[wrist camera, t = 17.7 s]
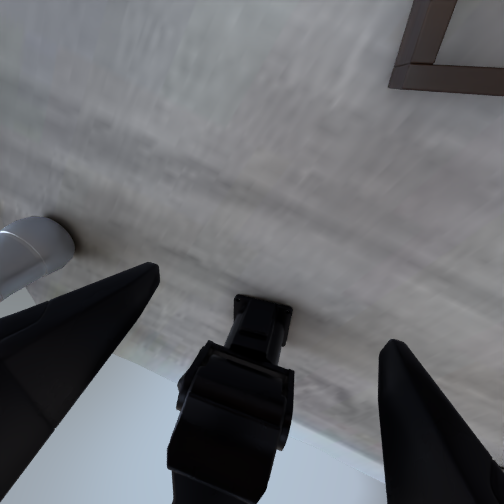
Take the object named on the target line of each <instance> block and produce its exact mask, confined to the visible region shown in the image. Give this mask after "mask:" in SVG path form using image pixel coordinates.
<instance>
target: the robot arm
mask: <svg viewBox="0 0 504 504" xmlns="http://www.w3.org/2000/svg"><path fill="white" fill-rule="evenodd" d="M159 283H160V273H159V266H158V265H157V264H154V263H151V262H146V263H144V264H141V265H138V266H136V267H133V268H131V269H128V270H126V271H123V272H120V273H118V274H115V275H113V276H110V277H108V278H105V279H103V280H100V281H97V282H95V283H92V284H90V285H87V286H85V287H82V288H80V289H77V290H74V291H72V292H69V293H67V294H64V295H62V296H59V297H56V298H54V299H51V300H50V301H46V302H43V303H41V304H38V305H36V306H33V307H31V308H28V309H25V310H22V311H20V312H17V313H14V314H11V315H8V316H5V317H2V318H0V502H1V500H2V499H3V498H4V496H5V495H6V494H7V493H8V491H9V490H10V489H11V487H12V486H13V485H14V483H15V482H16V481H17V479H18V478H19V477H20V475H21V474H22V473H23V471H24V470H25V469H26V467H27V466H28V465H29V463H30V462H31V461H32V459H33V458H34V457H35V455H36V454H37V453H38V451H39V450H40V449H41V447H42V446H43V445H44V443H45V442H46V441H47V440H48V438H49V437H50V436H51V434H52V433H53V432H54V430H55V429H54V428H56V427H57V426H58V425H59V423H60V422H61V421H62V419H63V418H64V417H65V415H66V414H67V412H68V411H69V410H70V409H71V407H72V406H73V405H74V403H75V402H76V401H77V399H78V398H79V397H80V395H81V394H82V393H83V391H84V390H85V389H86V387H87V386H88V385H89V383H90V382H91V381H92V380H93V378H94V377H95V375H96V374H97V373H98V371H99V370H100V369H101V368H102V366H103V365H104V364H105V362H106V361H107V359H108V358H109V357H110V356H111V354H112V353H113V352H114V350H115V349H116V348H117V346H118V345H119V344H120V342H121V341H122V340H123V338H124V337H125V336H126V334H127V333H128V332H129V330H130V329H131V328H132V326H133V325H134V324H135V322H136V321H137V320H138V318H139V317H140V315H141V314H142V312H143V310H144V309H145V307H146V305H147V304H148V302H149V300H150V299H151V297H152V295H153V294H154V292H155V290H156V289H157V287H158V285H159ZM239 299H240V300H239ZM292 311H293V309H292V308H291V307H289V306H285V305H281V304H277V303H272V302H268V301H264V300H260V299H255V298H251V297H247V296H243V295H236V296H235V298H234V323H233V326H232V328H231V330H230V333H229V335H228V338H227V340H226V342H225V345H224V346H221V345H218V344H215V343H214V342H213V341H210V340H208V342H207V343H206V345H205V346H203V347H202V349H200V351H199V353H198V355H197V357H196V358H195V360H194V362H193V363H192V365H191V366H190V368H189V369H188V370H187V371H186V373H185V374H184V375H183V376H182V377H181V378H180V380H179V382H178V385H177V386H178V390H179V395H178V401H177V406H176V409H177V410H179V411H181V412H180V415H179V417H178V420H177V423H176V425H175V428H174V431H173V433H172V436H171V439H170V443H169V445H168V448H167V468H168V469H169V470H172V482H173V502H172V504H257V502H258V501H259V500H260V498H261V497H262V495H263V494H264V492H265V491H266V489H267V484H268V481H269V478H270V474H271V470H272V466H273V461H274V457H275V454H276V450H280V451H282V450H283V448H284V446H285V444H286V441H287V438H288V434H289V430H290V425H291V420H292V413H293V397H294V370H291V369H285V368H282V367H280V366H278V362H279V357H280V352H281V347H284V346H285V345H286V340H287V335H288V330H289V326H290V321H291V316H292ZM378 406H379V417H380V428H381V439H382V450H383V461H384V472H385V483H386V493H387V504H504V472H503V471H502V469H501V468H500V467H499V465H498V464H497V463H496V462H495V461H494V460H492V456H491V455H490V454H489V452H488V451H487V450H486V449H485V447H484V446H483V445H482V443H481V442H480V441H479V439H478V438H477V437H476V435H475V434H474V433H473V431H472V430H471V429H470V428H469V426H468V425H467V424H466V422H465V421H464V420H463V418H462V417H461V416H460V414H459V413H458V412H457V410H456V409H455V408H454V407H453V405H452V404H451V403H450V401H449V400H448V399H447V397H446V396H445V395H444V393H443V392H442V391H441V390H440V388H439V387H438V386H437V384H436V383H435V382H434V380H433V379H432V378H431V376H430V375H429V374H428V372H427V371H426V370H425V369H424V367H423V366H422V365H421V363H420V362H419V361H418V359H417V358H416V357H415V355H414V354H413V353H412V351H411V350H410V349H409V348H408V346H407V345H406V344H405V343H404V342H402V341H399V340H396V339H390V340H389V341H388V343H387V344H386V345H385V346H384V348H383V349H382V350H381V352H380V354H379V371H378Z"/></svg>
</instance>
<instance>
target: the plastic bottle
mask: <svg viewBox="0 0 504 504" xmlns="http://www.w3.org/2000/svg"><path fill="white" fill-rule="evenodd" d="M74 251H75V245H74V242H73V240H72V238H71V236H70V235H69V233H68V232H67V231H66V230H65V229H64V228H63V227H62V226H61V225H59V224H58V223H57V222H55V221H53V220H51V219H49V218H46V217H38V216H31V217H27V218H24V219H20V220H16V221H15V222H13V223H11V224H10V225H8V226H6V227H5V228H3V229H2V230H1V231H0V302H1V301H3V300H4V299H6V298H7V297H9V296H10V295H11V294H13V293H15V292H16V291H18V290H20V289H22V288H23V287H25V286H27V285H29V284H31V283H32V282H34V281H36V280H38V279H39V278H41V277H44V276H47V275H49V274H51V273H53V272H55V271H57V270H59V269H61V268H63V267H64V266H65V265H66V264H67V263H68V262H69V261H70V260H71V259H72V258H73V255H74Z"/></svg>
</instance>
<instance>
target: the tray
mask: <svg viewBox="0 0 504 504" xmlns="http://www.w3.org/2000/svg"><path fill="white" fill-rule="evenodd" d="M456 3H457V0H414V2H413V5H412V9H411V12H410V15H409V18H408V22H407V25H406V28H405V32H404V35H403V38H402V42H401V45H400V48H399V52H398V55H397V58H396V61H395V65H394V67H395V68H394V69H393V71H392V75H391V78H390V81H389V85H388V88H393V89H403V90H418V91H433V92H447V93H462V94H477V95H492V96H504V68H495V67H475V66H454V65H434V64H433V63H434V62H435V59H436V57H437V54H438V51H439V49H440V46H441V43H442V41H443V38H444V35H445V32H446V30H447V27H448V24H449V22H450V19H451V16H452V14H453V11H454V8H455V6H456Z"/></svg>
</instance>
